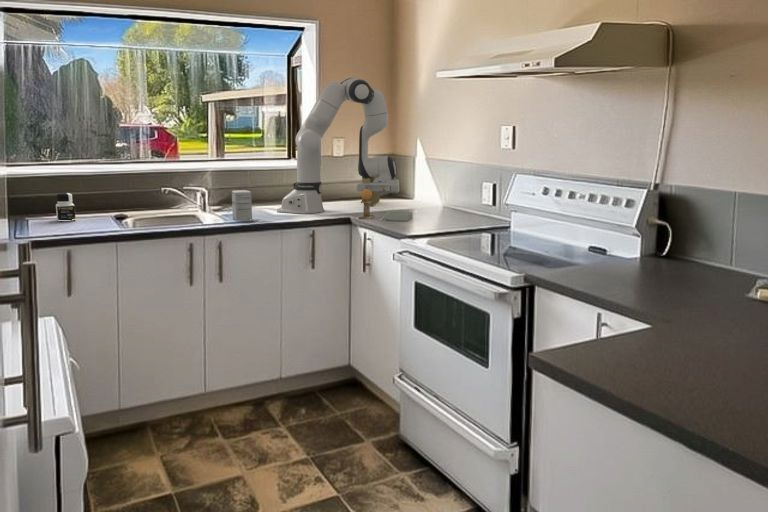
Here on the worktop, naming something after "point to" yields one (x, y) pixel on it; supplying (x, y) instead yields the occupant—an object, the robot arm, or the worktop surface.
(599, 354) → the worktop surface
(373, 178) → the khaki rectangular block
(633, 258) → the worktop surface
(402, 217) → the tray
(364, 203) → the tee
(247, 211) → the supplement box
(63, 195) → the medicine bottle
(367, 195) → the ball
